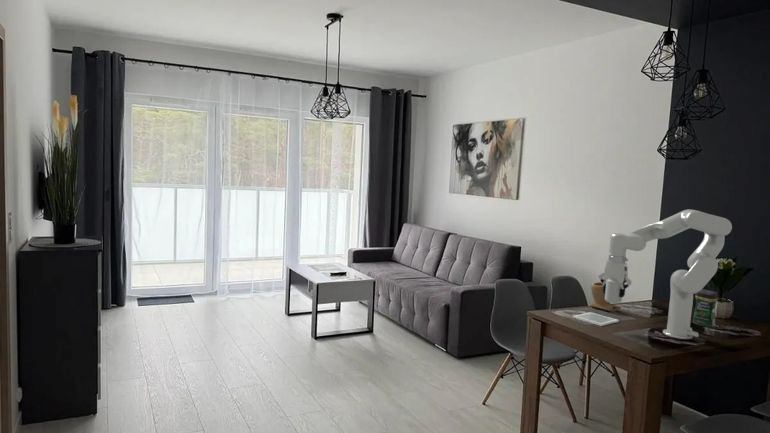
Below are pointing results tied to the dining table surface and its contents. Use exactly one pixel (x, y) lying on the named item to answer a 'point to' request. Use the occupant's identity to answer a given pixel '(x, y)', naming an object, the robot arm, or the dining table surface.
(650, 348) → the dining table surface
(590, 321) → the trivet
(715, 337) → the dining table surface
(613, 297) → the can
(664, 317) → the dining table surface
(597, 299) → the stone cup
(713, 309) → the coffee jar
